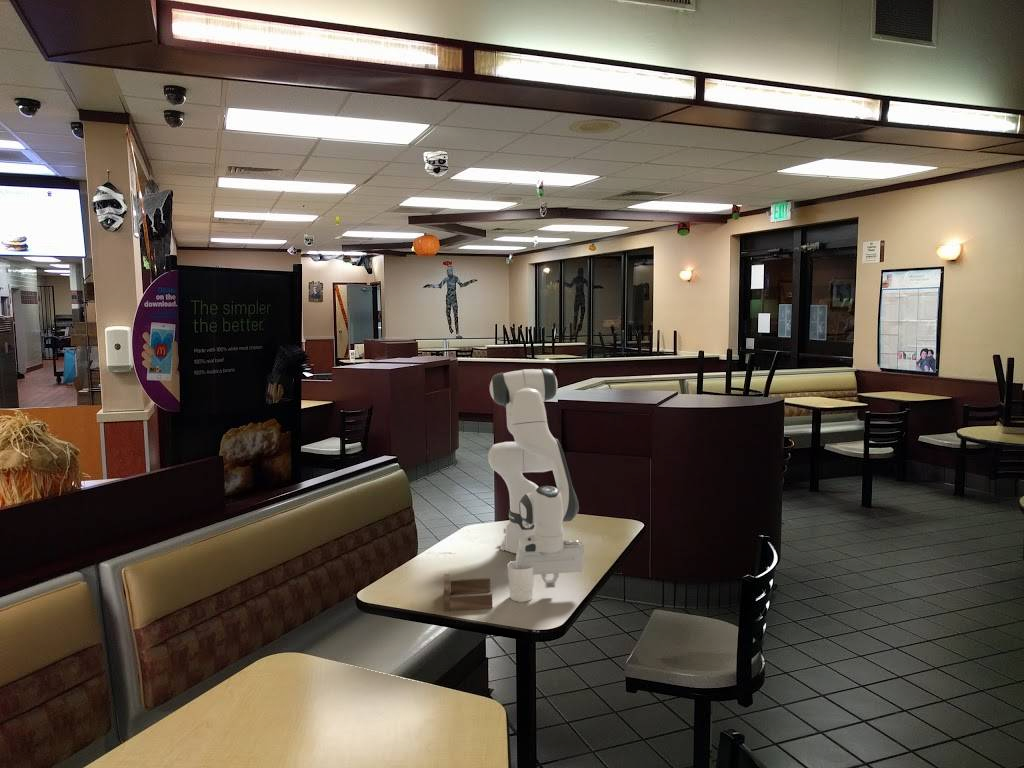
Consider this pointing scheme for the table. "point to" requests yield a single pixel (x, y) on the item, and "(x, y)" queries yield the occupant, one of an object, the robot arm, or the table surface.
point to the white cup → (520, 583)
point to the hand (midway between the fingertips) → (549, 587)
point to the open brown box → (467, 600)
